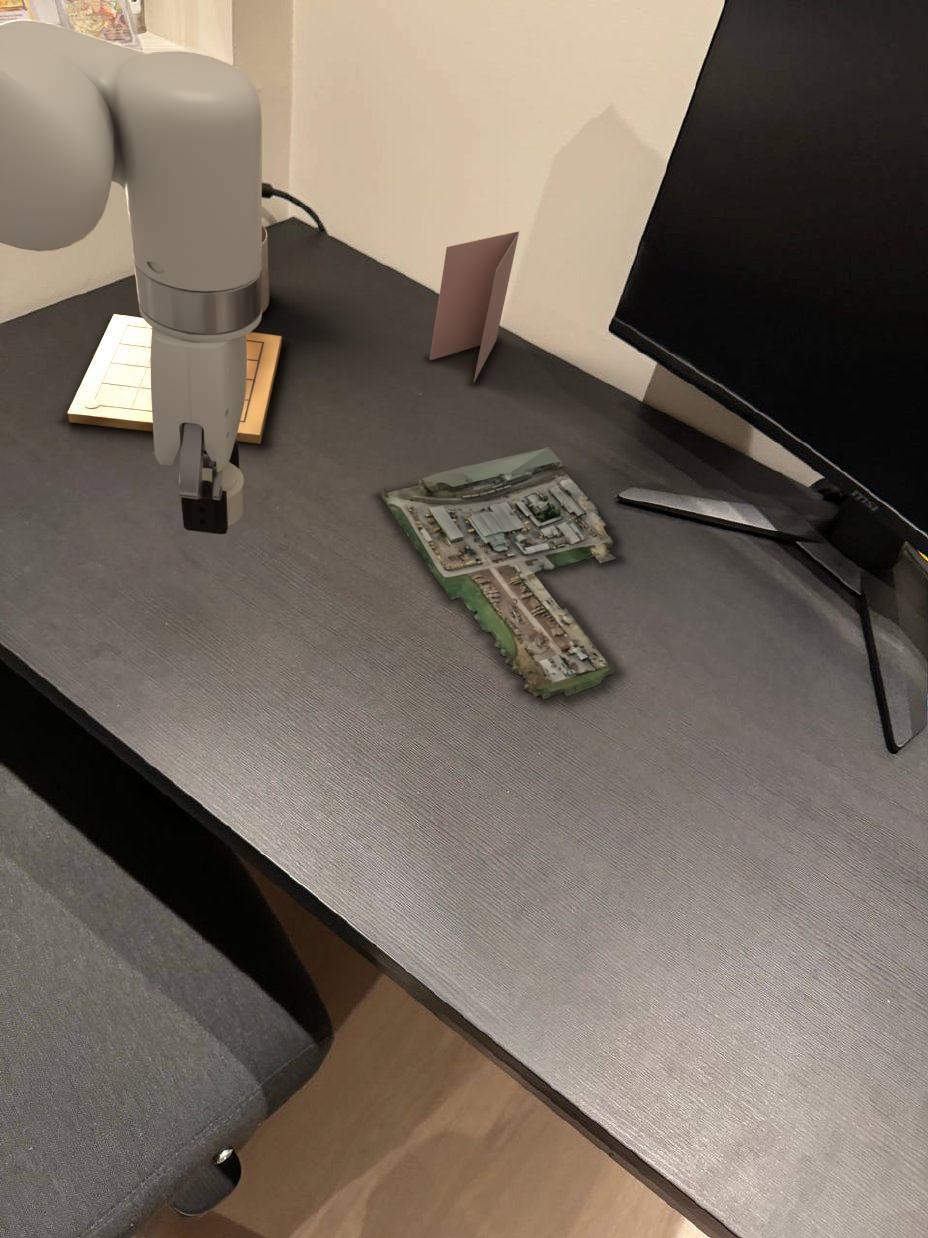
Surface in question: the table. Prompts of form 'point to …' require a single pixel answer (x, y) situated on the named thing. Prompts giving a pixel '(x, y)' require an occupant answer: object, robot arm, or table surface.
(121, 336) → the board
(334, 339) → the table surface
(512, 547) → the model
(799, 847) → the table surface
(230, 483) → the tan tin with lid
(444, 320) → the greeting card
